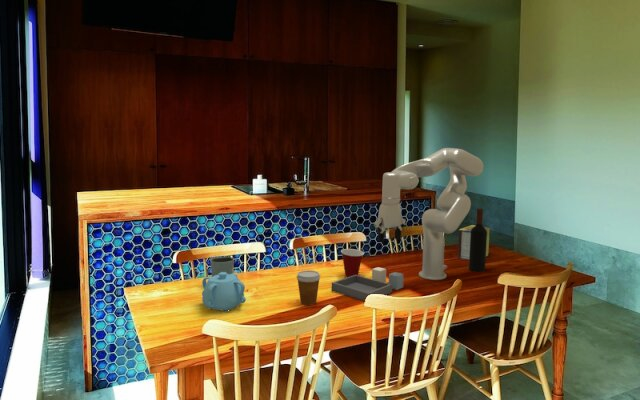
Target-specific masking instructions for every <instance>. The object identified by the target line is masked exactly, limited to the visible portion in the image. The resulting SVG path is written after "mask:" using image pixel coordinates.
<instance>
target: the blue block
mask: <svg viewBox="0 0 640 400" xmlns="http://www.w3.org/2000/svg"><path fill="white" fill-rule="evenodd" d="M388 284H392V290H397V291H398V290H400V289H403V288H404V273H400V272H397V271H394V272H391V273H389V274H388Z"/></svg>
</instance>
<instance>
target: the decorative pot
mask: <svg viewBox="0 0 640 400" xmlns="http://www.w3.org/2000/svg"><path fill="white" fill-rule="evenodd" d="M201 284H202V287H203V291H202V292H201V295H202V299H201V302H202V303H203V305H204V306H205V307H206V308H208V309H209V308H210V310H216V311H222V312H225V311H226V312H229V311H230V310H232V309H234V308H237V307H238V306H240V305H241V304H244V303H245V302H246V300H247V298H246V296H245V289H246V288H245V284H244V283H243V282H242V281H241V280H240V279H239V277H238V275H237V274H236V273H233V274H227V273H226V272H221V273H219V275H215V276H213V277H212V276H206V277H204V278H203V279H202V283H201ZM228 310H229V311H228Z"/></svg>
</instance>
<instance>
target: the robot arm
mask: <svg viewBox="0 0 640 400" xmlns="http://www.w3.org/2000/svg"><path fill="white" fill-rule="evenodd" d="M447 168H449V174H450V175H449V176H450V179H449V182H448V184H447V185H446V187H445V188H444V189H443V191H442V192H441V194H440V195H439V196H438V198H437V201H436V206H437V209H436V208H430V209H427V210H425V211H423V214H422V216H421V225H422V230H423V231H422V233H423V240H422V241H423V243H422V244H423V245H422V269H421V270H420V271H419V272H418V276H419V277H420V278H422V279H424V280H431V281H440V280H441V281H442V280H444V279H446V278H447V273H445V272H444V270H446V269H448V266H447V265H446V264H444V263H445V262H444V259H445V256H444V255H445V236H444V235H445V234H449V235H450V234H453V233H454V232H456V231H457V229H458V228H459V227H460V225H461V224H462V222H463V221H464V220H465V218H466V216H467V215H468V214H469V212H470V209H471V206H472V202H471V199H470V197H469V196H468V195H467V194H465V193H466V191H467V187H468V184H467V179H466V176H468V177H469V176H470V177H477V176H480V175H481V174H482V173H483V171H484V163H483V160H481V159H480V158H479V157H477V156H475V155H474V154H472V153H470V152H468V151H466V150H465V149H462V148H455V147H443V148H441V149H439V150H437V151H435V152H434V153H432V154H430V155H428V156H426V157H424V158H422V159H418V160H414V161H411V162H408V163H405V164H403V165H400V166H398V167H396V168H394V169H393V170H392V171H391V172H389V171H388V172H384V173H383V175H382V186H381V188H382V192H381V193H382V195H381V204H380V205H379V209H378V216H377V220H376V221H375V222H374V223H373V226H374V228H375V230H376V233H377V237H378V238H377V241H378V242H380V243H384V242H385V231H386V229H393V228H395V230H394V239H395V240H401V239H402V231H403V228H404V227H405V223H406V221H407V220H406V218H403V216H402V207H401V204H400V203H401V199H402V198H401V190H413V189H415V188H416V187H417V186H418V184H419V178H427V177H432V176H435V175H436V174H438V173H440V172H441V171H443V170H445V169H447Z"/></svg>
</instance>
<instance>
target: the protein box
mask: <svg viewBox="0 0 640 400" xmlns="http://www.w3.org/2000/svg"><path fill="white" fill-rule="evenodd" d="M475 226H476V224H475V225H474V224H471V225H468V226H464V227H463V228H460V229H458V242H457V243H458V244H457V245H458V247H457V248H458V249H457V258H458V259H462V260H467V261H469V256H470V236H471V229H472V228H473V227H475ZM483 227H484V228H485V229H486V230H487V243H486V257H488V256H489V249H490V248H489V247H490V229H491V228H490V227H488V226H483Z"/></svg>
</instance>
